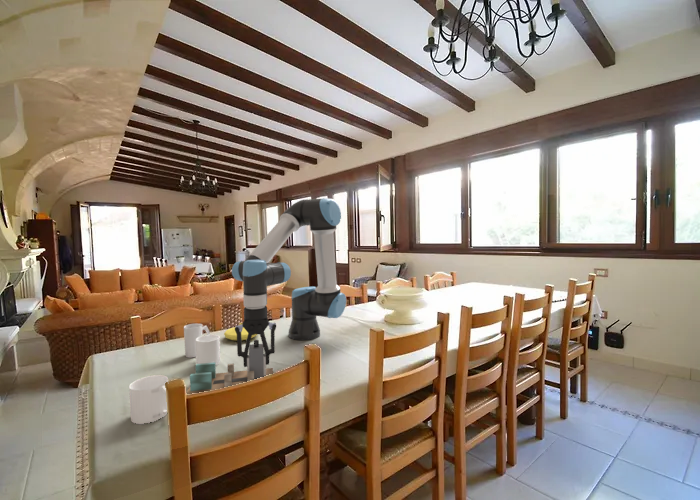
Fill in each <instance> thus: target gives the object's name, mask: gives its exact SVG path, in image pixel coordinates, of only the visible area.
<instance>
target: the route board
mask: <svg viewBox="0 0 700 500" xmlns="http://www.w3.org/2000/svg"><path fill="white" fill-rule="evenodd" d="M216 367H217V366H216V365H215V362H213V363H202V364H195V373H190V375H189V387H188V389H187V390H186V393H187V394H192V393H199V392H204V391H210V390H215V389H220V388H224V387H228V386H232V385H236V384H239V383H243V382H247V381H250V380H254V371H248V372H247V369H245V370H238V371H235V363H227V371H226V372H218V373H217V371H216V369H217V368H216ZM272 373H273V374H274V367H270V368H269V367H268V368H267V367H266V375H269V374H272ZM266 375H265V376H266ZM256 379H257V378H256ZM186 393H185V394H186Z"/></svg>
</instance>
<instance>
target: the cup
mask: <svg viewBox="0 0 700 500" xmlns="http://www.w3.org/2000/svg"><path fill="white" fill-rule="evenodd" d="M220 338H221V337H220V335H218V334H210V335H207V334H206V335H202V336H200V337H198V338H196V357H195V360H196V361H195V363H196V364H202V363H213V362H215V365H216V367H217V366H218V365H220V363H221V348H220V347H221V343H220V341H221V340H220ZM196 364H195V365H196Z"/></svg>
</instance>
